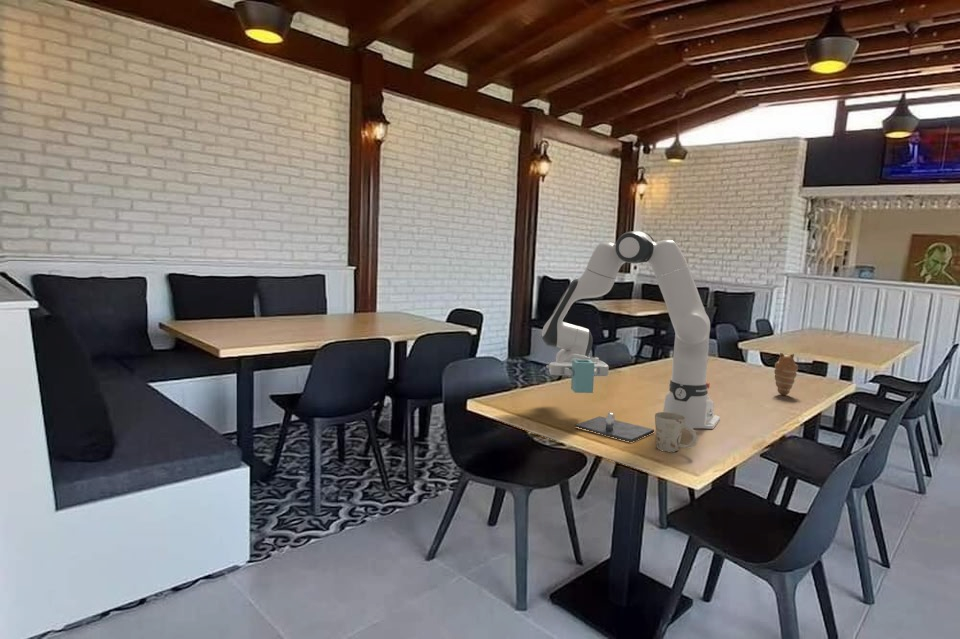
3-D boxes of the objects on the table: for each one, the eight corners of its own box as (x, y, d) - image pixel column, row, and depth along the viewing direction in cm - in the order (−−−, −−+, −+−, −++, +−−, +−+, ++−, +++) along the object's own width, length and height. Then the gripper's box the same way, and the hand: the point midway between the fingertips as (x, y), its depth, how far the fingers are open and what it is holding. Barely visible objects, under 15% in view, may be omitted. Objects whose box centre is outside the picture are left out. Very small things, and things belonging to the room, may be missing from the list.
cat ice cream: (773, 396, 244) (777, 353, 242) (770, 392, 251) (774, 350, 249) (796, 398, 241) (801, 355, 239) (793, 394, 249) (797, 352, 247)
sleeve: (571, 388, 198) (572, 359, 197) (588, 388, 198) (589, 359, 197) (574, 392, 192) (576, 362, 191) (592, 392, 192) (594, 363, 191)
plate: (599, 419, 200) (600, 401, 199) (653, 433, 186) (655, 413, 186) (575, 428, 189) (576, 408, 188) (631, 443, 175) (632, 422, 174)
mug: (659, 442, 177) (661, 410, 176) (701, 452, 169) (703, 418, 168) (648, 449, 170) (650, 415, 169) (691, 459, 163) (693, 424, 161)
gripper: (545, 356, 206) (552, 363, 192) (602, 357, 207) (613, 364, 194) (544, 374, 207) (552, 382, 193) (601, 374, 208) (612, 383, 194)
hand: (583, 373), depth 193 cm, fingers closed on sleeve, 6 cm apart
